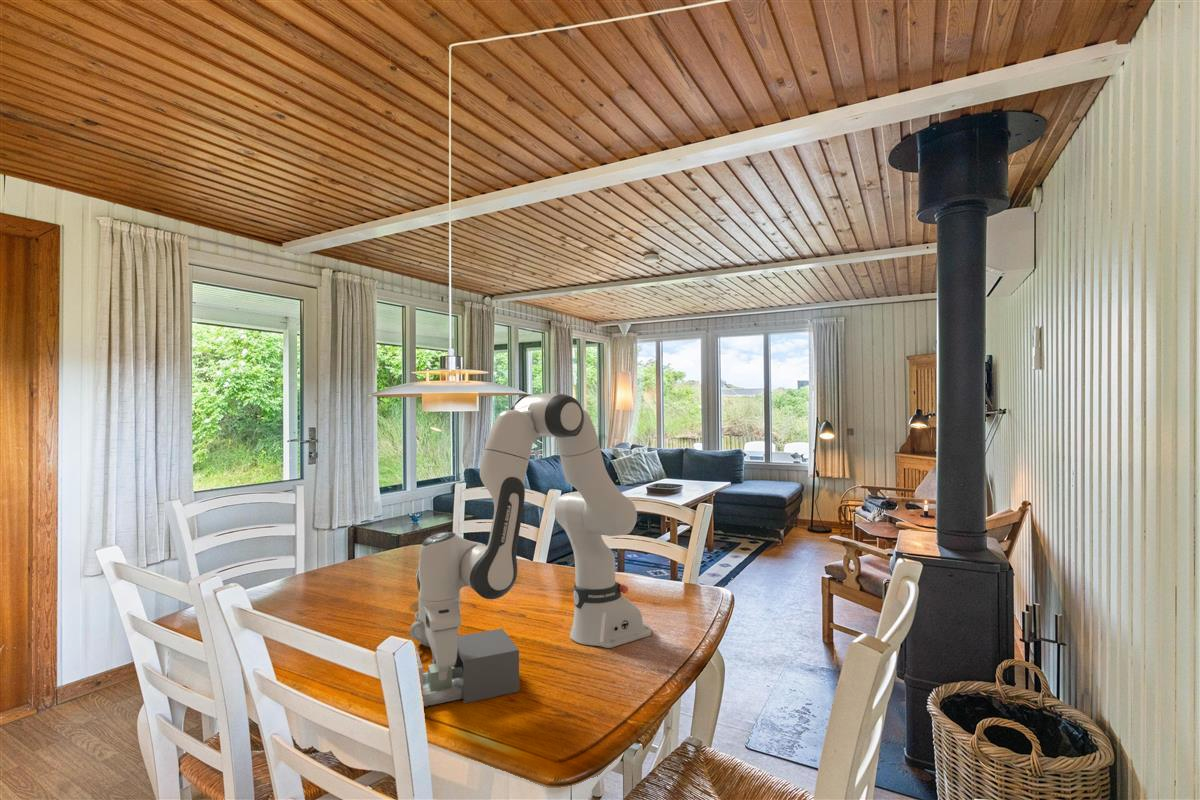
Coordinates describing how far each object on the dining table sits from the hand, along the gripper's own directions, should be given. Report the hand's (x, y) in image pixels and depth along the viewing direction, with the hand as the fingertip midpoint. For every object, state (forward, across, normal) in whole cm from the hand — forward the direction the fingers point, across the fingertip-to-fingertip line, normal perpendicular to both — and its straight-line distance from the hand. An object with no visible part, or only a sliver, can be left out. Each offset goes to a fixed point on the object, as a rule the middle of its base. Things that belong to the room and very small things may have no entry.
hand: (439, 671), depth 124 cm
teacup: (+5, -28, +2) cm, 28 cm away
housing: (+5, 0, +10) cm, 11 cm away
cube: (+4, 0, 0) cm, 4 cm away
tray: (+4, 0, 0) cm, 4 cm away
